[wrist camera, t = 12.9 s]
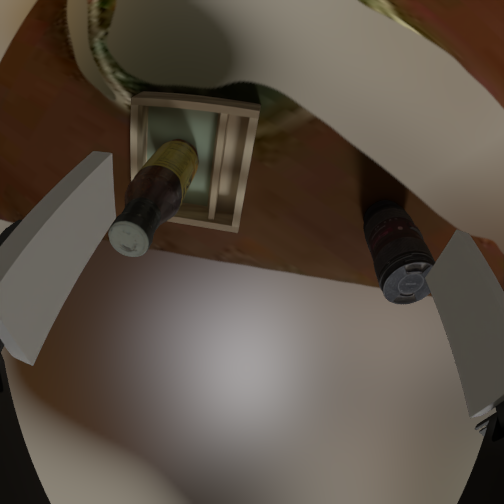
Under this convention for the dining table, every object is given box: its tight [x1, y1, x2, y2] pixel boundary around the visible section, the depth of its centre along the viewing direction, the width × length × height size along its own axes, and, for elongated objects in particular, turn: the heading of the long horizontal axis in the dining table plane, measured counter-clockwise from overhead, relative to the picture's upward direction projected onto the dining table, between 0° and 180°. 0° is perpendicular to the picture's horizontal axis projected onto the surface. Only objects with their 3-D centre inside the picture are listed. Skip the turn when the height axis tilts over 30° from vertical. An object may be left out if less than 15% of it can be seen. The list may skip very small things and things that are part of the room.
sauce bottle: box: [108, 139, 199, 257], centre depth 34 cm, size 7×6×20 cm
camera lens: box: [364, 200, 435, 304], centre depth 40 cm, size 8×8×15 cm
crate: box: [130, 91, 261, 233], centre depth 40 cm, size 18×16×4 cm
